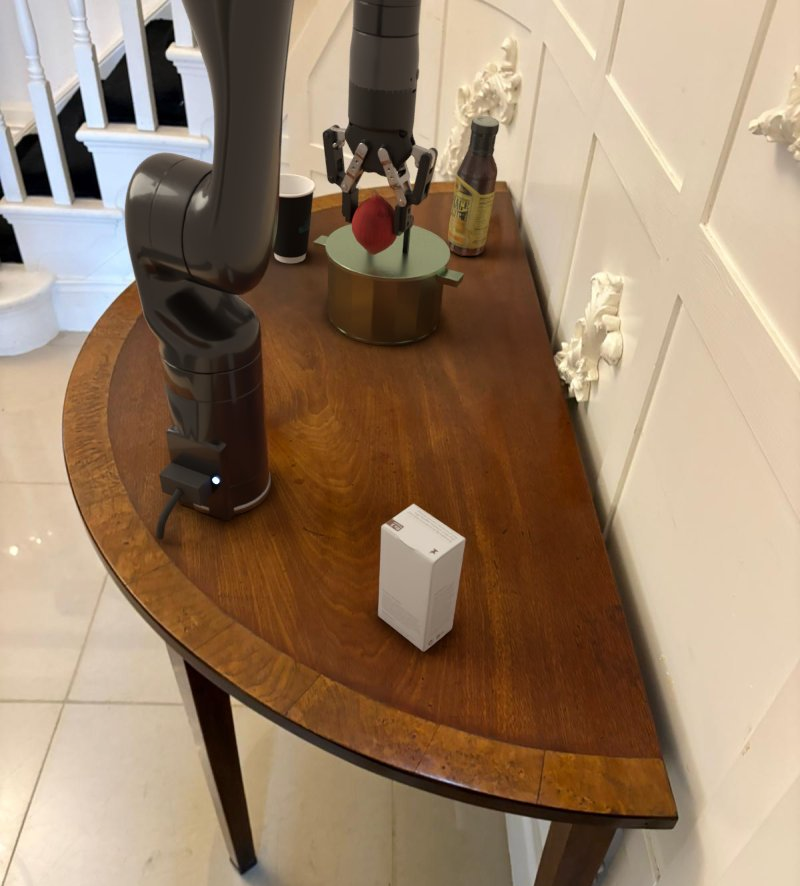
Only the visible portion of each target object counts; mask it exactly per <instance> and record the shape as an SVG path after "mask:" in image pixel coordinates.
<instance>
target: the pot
mask: <svg viewBox="0 0 800 886" xmlns="http://www.w3.org/2000/svg"><path fill="white" fill-rule="evenodd" d="M328 237H329V236H327V235H323V234H322V235H320V236H319V237H317V238H316V239H315V240H313V249H315V250H320V251H322V252H326V251H325V244H326V240H327V238H328ZM327 258H328V257H327ZM464 274H465V273H464V272H460V271H457V270H453V269H449V268H447V267H446V268H445V269H443V270H442V271H441V272H439V273H438V274H436V275H434V276H431V277H428V278H425V279H421V280H416V281H409V282H383V281H376V280H370V279H366V278H361V277H358V276H355V275H352V274H350V273H348V272H345V271H344V270H342V269H340V268H338V267H337V266H336V265H334V264H333V263H332V262H331V261H330V260H329V258H328V259H327V315H328V320H329V321H330V324H331V325H332V327H333V328H334V329H335V330H337V332H339V333H340V334H342V335H344V336H346V337H347V338H349V339H352V340H354V341H357V342H360V343H364V344H367V345H374V346H381V347H382V346H383V347H398V346H399V347H400V346H405V345H411V344H415V343H418V342H420V341H424V340H425V339H426V338H428V337H430V336H431V335H432V334H434V332H435V331H436V329H437V328H438V325H439V323H440V319H441V318H440V317H441V310H442V301H443V293H444V286H449V287H453V288H458V286H460V284H461V283H462V282H463V281H464Z"/></svg>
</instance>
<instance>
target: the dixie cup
mask: <svg viewBox="0 0 800 886" xmlns="http://www.w3.org/2000/svg"><path fill="white" fill-rule="evenodd" d="M316 187H317V186H316V183H315V182H314V181H313V180H312V179H311V178H309V177H306V176H304V175H300V174H294V173H280V193H279V211H278V222H277V232H276V239H275V244H274V248H273V256H274V258H275V260H277V261H279V262H280V263H283V264H298V263H300V262H303V261H304V260H305V259H306V255H307V253H308V249H309V240H310V229H311V219H312V210H313V200H314V192H315V190H316Z"/></svg>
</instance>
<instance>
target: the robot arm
mask: <svg viewBox="0 0 800 886" xmlns="http://www.w3.org/2000/svg"><path fill="white" fill-rule="evenodd" d="M422 1H423V0H353V5H352V31H351V40H350V46H349V59H348V64H349V65H348V98H347V102H348V103H347V118H348V124H347V127H346V128H344V127H343V128H341V126H339V124H334V125H332V126H329V128H327V129H325V130H324V131H323V132H322V143H323V152H324V160H325V162H324V163H325V169H326V178H327V181H328V183H329V184H331V185H334V184H335V185H336V186H338V187H339V189H340V190H341V214H342V217H344V221H345V223H348V224H352V220H353V216H354V213H355V211H356V209H357V208H358V206H359V195H360V193H359V192H360V188H359V187H357V186H358V184H359V182H360V181H361V179H362V176H363V174H364V173H367V174H371V173H375V174H377V175H378V176H380V177H384V178H386V179H387V182H388V185H389V188H390V189H392V191H393V194H394V198H395V200H396V203H397V204H395V206H394V210H395V215H394V229H393V234H394V235H396V236H400V235H401V234H402V233H403V232H405V231H406V230H407V229H408V227H409V225H410V216H411V215H412V214H411V213H412V205H414V206H419V205H420V204H422V202H423V201H424V200H426V199H427V198H428V196H429V193H430V189H431V185H432V180H433V176H434V172H435V169H436V164H437V159H438V156H439V152H438V149H437V148H435V147H430V148H425V147H423V146H420V145H418V144H416V143H417V142H416V140H415V137H414V127H415V116H416V115H415V113H416V103H417V91H418V80H419V78H420V77H419V76H420V69H419V66H420V24H421V23H420V22H421V11H422ZM181 3H182V7H183V8H184V12H185V14H186V17H187V19H188V22H189V25H190V27H191V30H192V33H193V36H194V39H195V41H196V43H197V46H198V48H199V52H200V54H201V58H202V60H203V63H204V66H205V69H206V73H207V77H208V82H209V86H210V92H211V98H212V108H213V154H212V157H213V158H212V163H211V162H207V161H203V160H200V159H196V158H192V157H189V156H185V155H182V154H178V153H173V152H158V153H155V154H152V155H150V156H148V157H146V158H145V159H143V161H141V162H140V163H139V164H138V165H137V166H136V167H135V170H134V171H133V174H131V175H132V176H131V178H130V180H129V182H128V186H127V189H126V194H125V200H124V201H125V202H124V228H125V229H124V230H125V231H124V232H125V237H126V238H125V239H126V245H127V248H128V249H127V250H128V254H129V259H130V262H131V266H132V267H131V268H132V271H133V276H134V278H135V279H134V280H135V284H136V287H137V292H138V296H139V301H140V304H141V310H142V313H143V317H144V320H145V322H146V325H147V328H149V330H150V332H151V333H152V335H153V336H154V337H155V339H156V342H157V348H158V352H159V359H160V364H161V371H162V378H163V384H164V389H165V396H166V402H167V409H168V414H169V420H170V426H168V428H167V429H166V430H165V437H166V443H167V449H168V454H169V462H170V463H169V464H168V465H167V466H166V467H164V468H163V470H161V472H159V474H158V477H159V481H160V487H161V492H162V493H164V494H167V495H170V498H169V499H168V501H167V503H166V504H165V506H164V508H163V509H162V511H161V513H160V515H159V518H158V521H157V523H156V532H155V538H156V539H157V540H163V539H164V538H165V532H166V531H165V530H166V524H167V522H168V519H169V517H170V515H171V513H172V511H173V509H174V508H175V507H176V505H177V504H180V505H181V506H184V507H188V508H190V509H193V510H195V511H198V512H200V513H203V514H206V515H209V516H212V517H214V518H217V519H219V520H222V521H224V522H225V521H226V522H228V521H230V520H231V519H232V518H233V517H234V516H235V515H239V514H240V515H241V514H244V513H246V512H248V511H251V510H253V509H254V508H256V507H258V506H259V505H261V504H262V503H263V502H264V501H265V499H266V498H268V496H269V494H270V491H271V488H272V487H271V486H272V479H271V472H270V462H269V446H268V432H267V431H268V427H267V409H266V392H265V377H264V376H265V375H264V357H263V337H262V326H261V322H260V318H259V316H258V314H257V312H256V311H255V310H254V308H253V307H252V306H251V305H250V304H249V303H248V302H246V301H245V300H244V299H243V298H242V297H241V295H246V294H249V293H250V292H252V291H254V289H255V288H256V287H257V286H258V285H259V284H260V283H261V281H262V279H263V278H264V277H265V275H266V272H267V270H268V268H269V265H270V263H271V260H272V256H273V254H274V252H273V248H274V244H275V239H276V232H277V222H278V211H279V193H280V174H281V169H282V168H281V167H282V165H281V164H282V163H281V162H282V145H283V144H282V143H283V142H282V140H283V123H284V122H283V121H284V120H283V119H284V102H285V91H286V90H285V89H286V76H287V69H288V59H289V49H290V42H291V41H290V40H291V32H292V23H293V15H294V9H295V8H294V7H295V0H181ZM346 144H347V146H348V148H349V150H350V151H351V153H352V155H353V157H352V158H351V161H350V163H349V164H348V167H347V168H346V167H345V159H344V158H345V157H344V149H343V148H344V146H345V145H346ZM411 156H412V157H413V159H414V167H415V168H416V169H417V172H416V176H415V179H414V185H413V187H412V184H411V181H410V179H411V174H410V171H409V167H408V164H407V160H409V158H410V157H411ZM345 168H346V169H345Z"/></svg>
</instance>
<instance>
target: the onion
mask: <svg viewBox="0 0 800 886" xmlns="http://www.w3.org/2000/svg"><path fill="white" fill-rule="evenodd" d="M394 215H395V207H393V206H392V205H391V203H390V202H388V201H387V200H386V199H385V198H384V197H383V196H382V195H381V194H380V193H379V191H378V190H377V189H372V190H371V195H370V197H368V198H366V199H365V200H364V201H363V202H361V203H360V204H358V208H357V209H356V211H355V213H354V216H353V220H352V223H351V224H352V232H353V234H354V236H355V238H356V240H357V242H358V243H359V244H360V245H362V246H363V247H364V248H365V249H366V250H367V251H368V253H370V254H371V255H376V254H378V253H380V252H382V251H384V250H385V249H387V248H388V247H389V246H391V245H392V244H393V243H394V241H395V239H396V237H397V236H396V235H394V234H393V229H394Z"/></svg>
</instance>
